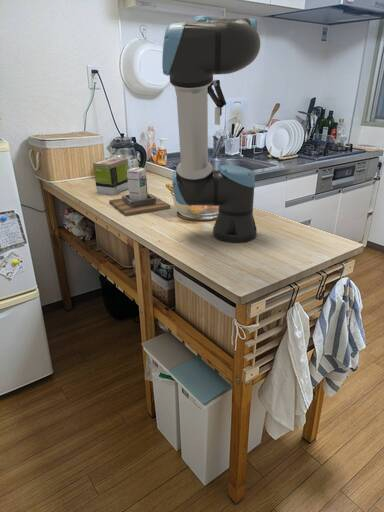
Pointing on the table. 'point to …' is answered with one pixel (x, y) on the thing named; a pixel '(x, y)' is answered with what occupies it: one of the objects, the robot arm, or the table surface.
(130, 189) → the syrup box
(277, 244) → the table surface
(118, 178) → the tea box
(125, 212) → the wooden tray on board
